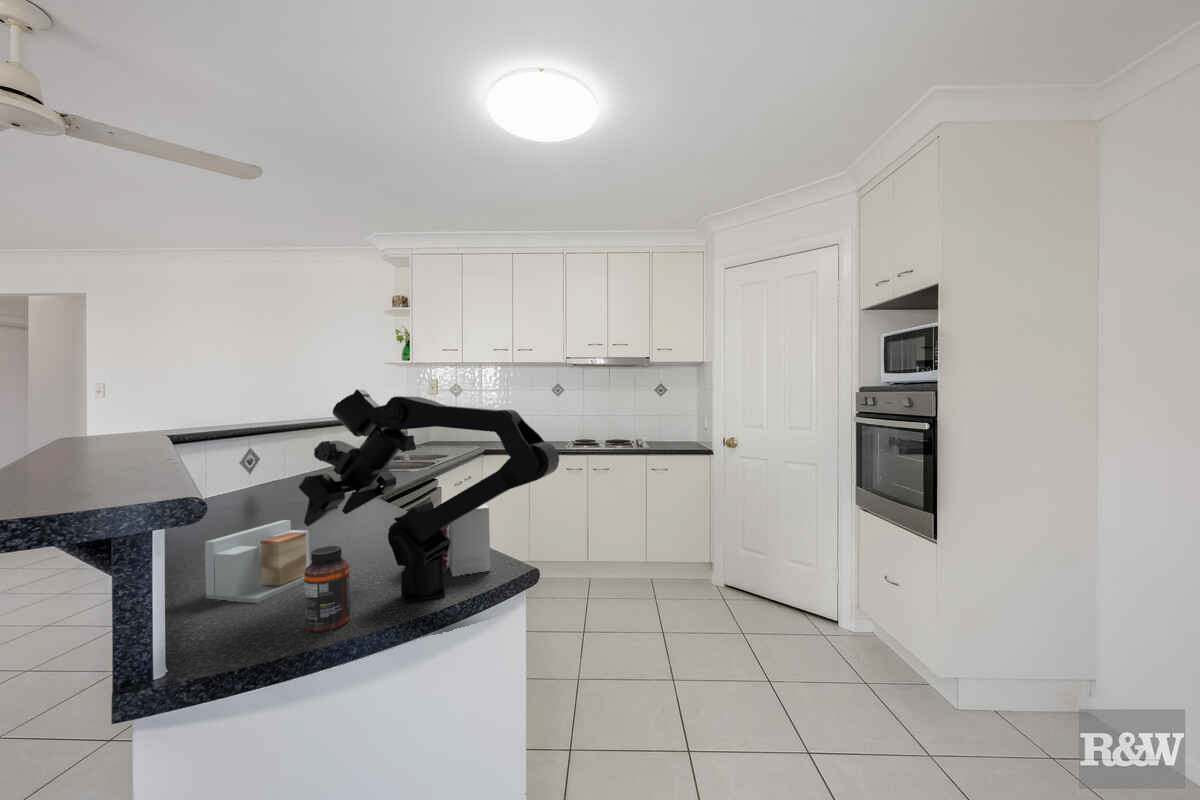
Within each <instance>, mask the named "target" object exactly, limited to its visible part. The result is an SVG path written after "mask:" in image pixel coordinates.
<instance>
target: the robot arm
mask: <svg viewBox="0 0 1200 800" xmlns="http://www.w3.org/2000/svg"><path fill="white" fill-rule="evenodd" d="M332 415H333V416H334V417H335V418H336V419H337V420H338V421H339V422H340V423H341V424H342V425H343V426H344V427H345V428H346V429H347V430H348V431H349V432H350V433H351V434H352V435H353V436H354V437H366V439H365V440H364V441H363V442H362V444H361V445H360V447H356V446H354V445H351V444H349V443H347V442H344V441H342V440H331V441H329V440H325V441H321V442H320V443H318V445H317V446H316V447H314V450H313V451H314V452H313V457H314V458H315V459H316V460H318V461H320V462H324V463H326V464H329V465H331V466H333V467H334V468H333V469H332V470H333V472H335V474H336V475H339V476H340V477H339V478H340V480H338V481H337V480H335V479H334V478H333V477H332V476H331V475H330V474H329V473H317V474H311V475H307V476H306V475H305V477H304V478H303V479H302V480H301V482H300V483H299V485H298V489H299V490H300V491H301V492H302V493H303V494H304V495H305V496H306V497H307V498H308V503H307V509H306V511H305V516H304V521H303V523H304V525H305V526H306V527H310V526H311V525H313V524H315V523H316V522H318V521H320V520H321V519H323V518H324V517H326V516H328V515H329V514H331V513H333V512H335V510H337V509H338V508H339V505H340V504H341V503H343V502H344V500H345V499H346V496H345V495H346V494H350V496H349V497H348V499H347V501H346V503H345V504H344V506H343V507H342V510H341V512H342V513H343V514H344V515H348V514H350V513H353V511H355V510H357V509H360V508H361V507H362V506H365V505H366V504H367V505H368V503H370V502H372V501H375V500H377V499H378V498H380V497H382V496H384V495H386V494H387V493H390V492H392V490H393V489H394V488H395V487H396V485H397V477H396V476H395V475H394V474H392V472H391V471H390V470H391V469H392V465H390V464H391V462H392V461H393V460H394V459H395V457H396V456H397V454H398V453H399V452H400V451H401V452H402V453H406V452H412V451H415V450H416V449H417V446H416V443H415V435H412V434H411V435H407V433H405V432H404V431H403V430H413V429H422V428H423V429H424V428H425V429H426V428H432V427H437V428H438V427H439V428H447V429H458V430H459V429H461V430H470V431H471V430H472V431H478V432H479V431H480V432H482V431H483V432H491V433H492V432H493V433H496V435H497V436H498V437H499V440H500V441H501V444H502V446H503V448H504V451H505V452H506V453H507V455H508V456H509V458H508V459H507V460H506V461H505V462H504V463H503V464H502V466H501V467H500V468H499V469H498V470H497V471H495V472H493V473H492V474H490V475H488V476H486V477H485V478H482V479H481V480H480V481H478V482H476V483H474V484H473V485H471V486H470V487H467V488H466V489H464V490H462V491H460V492H459V493H457V494H456V495H454V496H452V497H450V498H449V499H447V500H446V501H443V502H442V503H440V504H437V505H438V506H437V507H435V508H434V505H435V504H434V503H433V501H432V500H430V501H428V502H425V503H422V504H419V505H416V506H414V507H412V508H410V509H409V510H408V511H407V512H406V513H405V514H402V515H399V516H396V517H394V518H393V520H394V521H395V522H394V523H392V524H391V525H390V527H389V528H388V533H387V540H388V541H387V542H388V543H389V546H390V548H391V551H392V553H393V556H394V559H395V562H396V565H397V566H401V568H400V587H401V588H400V589H401V591H400V594H401V597H403V598H404V603H405V604H406V603H407V604H409V603H413V602H420V601H421V602H422V601H426V600H432V598H433V599H437V598H443V597H445V596H446V589H445V581H444V580H445V578H444V577H445V576H444V572H445V571H444V570H445V569H444V566H443V555H442V554H443V553H445V552H447V551H448V549H449V546H450V543H451V541H450V539H449V536H448V537H447V536H446V535H445V534H444V533H443V531H444V530H445V529H446V528H447V527H448V528H449V525H450V524H451V523H452V522H454V521H456V520H457V519H459V518H461V517H463V516H464V515H466V514H468V513H470V512H471V511H473V510H475V509H476V508H478V507H480V506H482V505H483V504H487V503H489V502H490V501H492V500H494V499H496V498H497V497H499V496H501V495H502V494H504V493H506V492H508V491H510V490H511V489H515V488H518V487H521V486H524V485H526V484H529V483H533V482H535V481H536V482H537V481H538V480H540V479H543V478H544V477H546V476H549V475H551V474H553V473H554V472H555V471H556V470H557V469H558V467H559V464H560V463H559V462H560V455H559V452H558V450H557V449H556V447H555V446H554V445H552V444H551V443H549V442H545V440H544V439H543V437H541V435H540V434H539V433H538V432H537V431H536V430H534V429H533V428H532V427H531V426H530V425H529V424H528V423H527V422H526V421H525V420H524V418H522V416H521V415H520V414H519V412H517V411H516V410H513V409H490V408H478V407H470V406H469V407H466V406H454V405H446V404H442V403H439V402H437V401H435V400H431V399H427V398H424V397H420V396H403V395H402V396H400V395H399V396H392V397H391V398H390V399H389V400H388V401H387V402H386V404H384V405H380V404H378V403H377V402H376V401H375V400H374V399H373V398H372V397H371V395H370V393H369V392H367V391H366V390H365V389H355V391H354V392H353V393H352V394H349V395H347V396H345V397H344V398H343V399H341V400H340V401H337V403H336V404H335V405H334V407H333V409H332Z"/></svg>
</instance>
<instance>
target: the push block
mask: <svg viewBox="0 0 1200 800" xmlns="http://www.w3.org/2000/svg"><path fill="white" fill-rule="evenodd" d="M260 544H261V584H262V585H277V586H280V585H282V584H285V583H287V582H289V581H292V580H294V579H296V578H299V577H301V576H303V575H304V573H305V569H306V533H298V532H287V533H284V534H281V535H277V536H274V537H271V538H268V539H265V540H261V541H260Z"/></svg>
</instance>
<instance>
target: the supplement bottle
mask: <svg viewBox="0 0 1200 800" xmlns="http://www.w3.org/2000/svg"><path fill="white" fill-rule="evenodd" d="M310 552H311V553H310V555H311V558H310V561H311V563H309V566H308V567H307V568H306V569H305V573H304V579H305V580H304V582H303V583H304V609H305V610H304V611H305V614H304V615H305V627H306V629H307V630H308V631H311V632H315V633H317V632H325V631H330V630H334V629H337V628H340V627H342V626H343V625H345V624H346V623H347V622H348V621H349V620H350V619H351V593H350V592H351V590H350V585H351V583H350V565H349V562H348V561H347V560H345V559H343V557H342V547H341V546H338V545H329V546H328V545H327V546H322V547H319V548H315V549H314V550H311V551H310Z"/></svg>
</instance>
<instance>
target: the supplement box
mask: <svg viewBox="0 0 1200 800" xmlns="http://www.w3.org/2000/svg"><path fill="white" fill-rule="evenodd" d="M448 538H449V539H450V541H451V543H450V546H449V555H448V566H449V567H448V568H449V570H450V572H451V576H452V577H461V576H460V575H463V576H466V575H465V574H470V575H473V574H472V573H477V572H484V571H489V570H490V571H491V542H490V541H491V540H490V538H491V537H490V507H489V506H488V505H487V503H485V504H483V505H482V506H480V507H478V508H476V509H475V510H473V511H471V512H470V513H468V514H466V515H464V516H463V517H461V518H459V519H457V520H456V521H454V522H452V523H451V524H450V525H449V526H448ZM490 571H489V572H490ZM484 573H485V572H484ZM477 574H478V573H477Z"/></svg>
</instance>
